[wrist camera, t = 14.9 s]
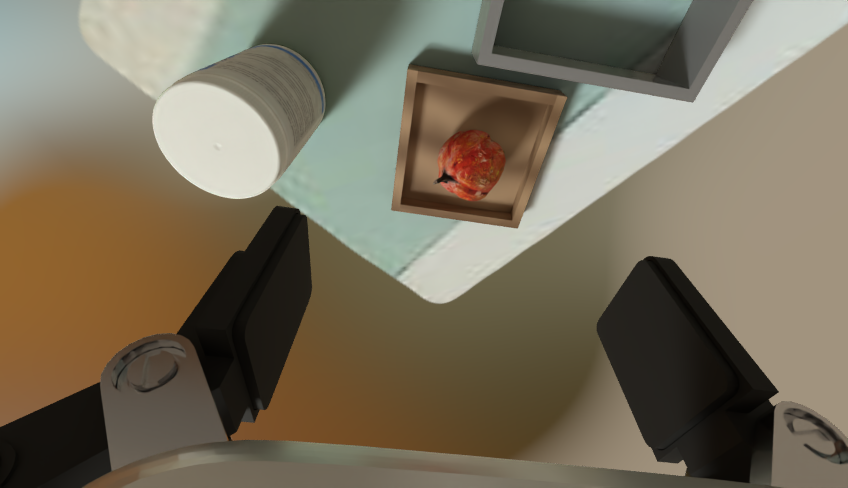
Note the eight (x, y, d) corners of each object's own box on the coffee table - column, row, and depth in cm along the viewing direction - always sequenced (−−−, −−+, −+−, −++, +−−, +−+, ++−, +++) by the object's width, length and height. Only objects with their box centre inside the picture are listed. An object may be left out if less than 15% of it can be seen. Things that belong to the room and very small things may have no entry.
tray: (409, 63, 36) (407, 69, 34) (559, 90, 38) (567, 96, 36) (393, 199, 46) (391, 210, 44) (513, 217, 47) (517, 228, 45)
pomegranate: (490, 109, 40) (417, 125, 36) (539, 137, 36) (465, 160, 31) (477, 167, 45) (412, 188, 41) (519, 197, 41) (452, 224, 37)
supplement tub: (244, 24, 35) (147, 48, 23) (338, 69, 37) (294, 112, 25) (232, 116, 40) (148, 174, 28) (315, 150, 42) (269, 217, 30)
